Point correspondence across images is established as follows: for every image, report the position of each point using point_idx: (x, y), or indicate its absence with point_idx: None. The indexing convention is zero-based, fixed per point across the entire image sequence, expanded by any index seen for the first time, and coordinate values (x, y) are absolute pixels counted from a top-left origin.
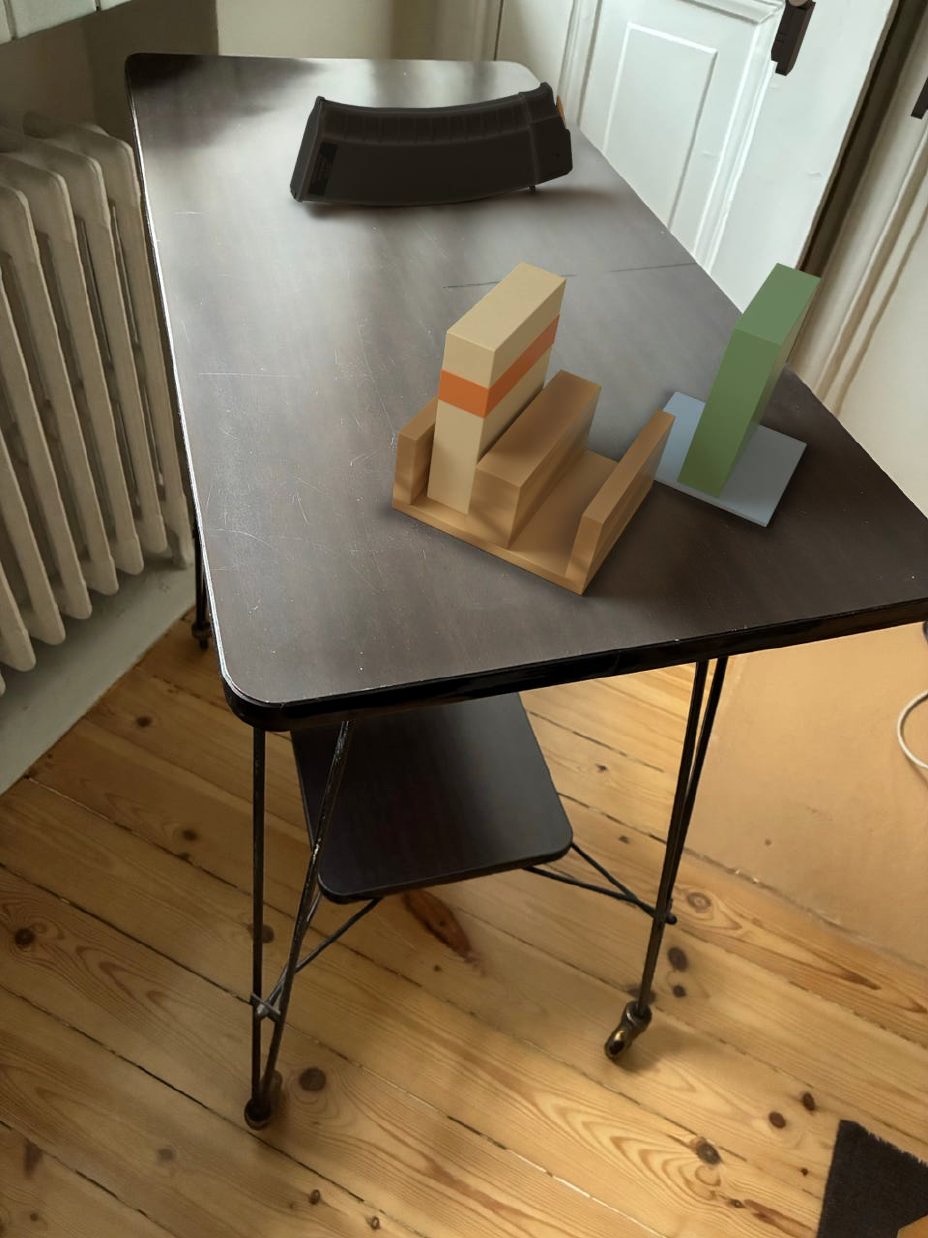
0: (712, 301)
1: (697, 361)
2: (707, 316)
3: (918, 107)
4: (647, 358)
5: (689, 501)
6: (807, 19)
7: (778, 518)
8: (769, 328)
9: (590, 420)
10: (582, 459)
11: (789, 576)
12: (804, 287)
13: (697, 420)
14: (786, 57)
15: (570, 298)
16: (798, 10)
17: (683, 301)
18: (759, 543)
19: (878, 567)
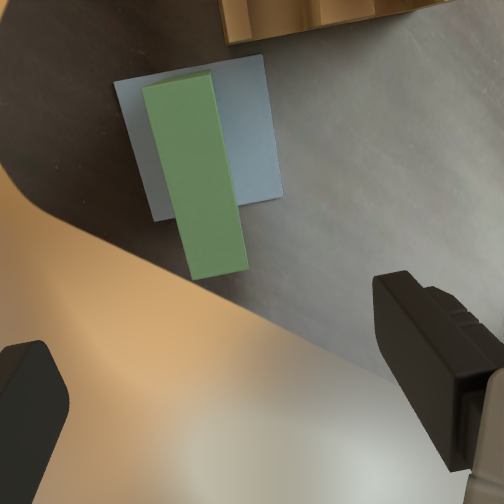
0: (325, 341)
1: (292, 256)
2: (318, 320)
3: (18, 352)
4: (329, 224)
5: (187, 58)
6: (430, 400)
7: (114, 105)
8: (174, 114)
9: (310, 16)
10: (295, 11)
11: (57, 31)
12: (195, 244)
13: (245, 172)
14: (401, 289)
15: (430, 248)
16: (480, 367)
17: (345, 322)
18: (105, 54)
19: (11, 115)
